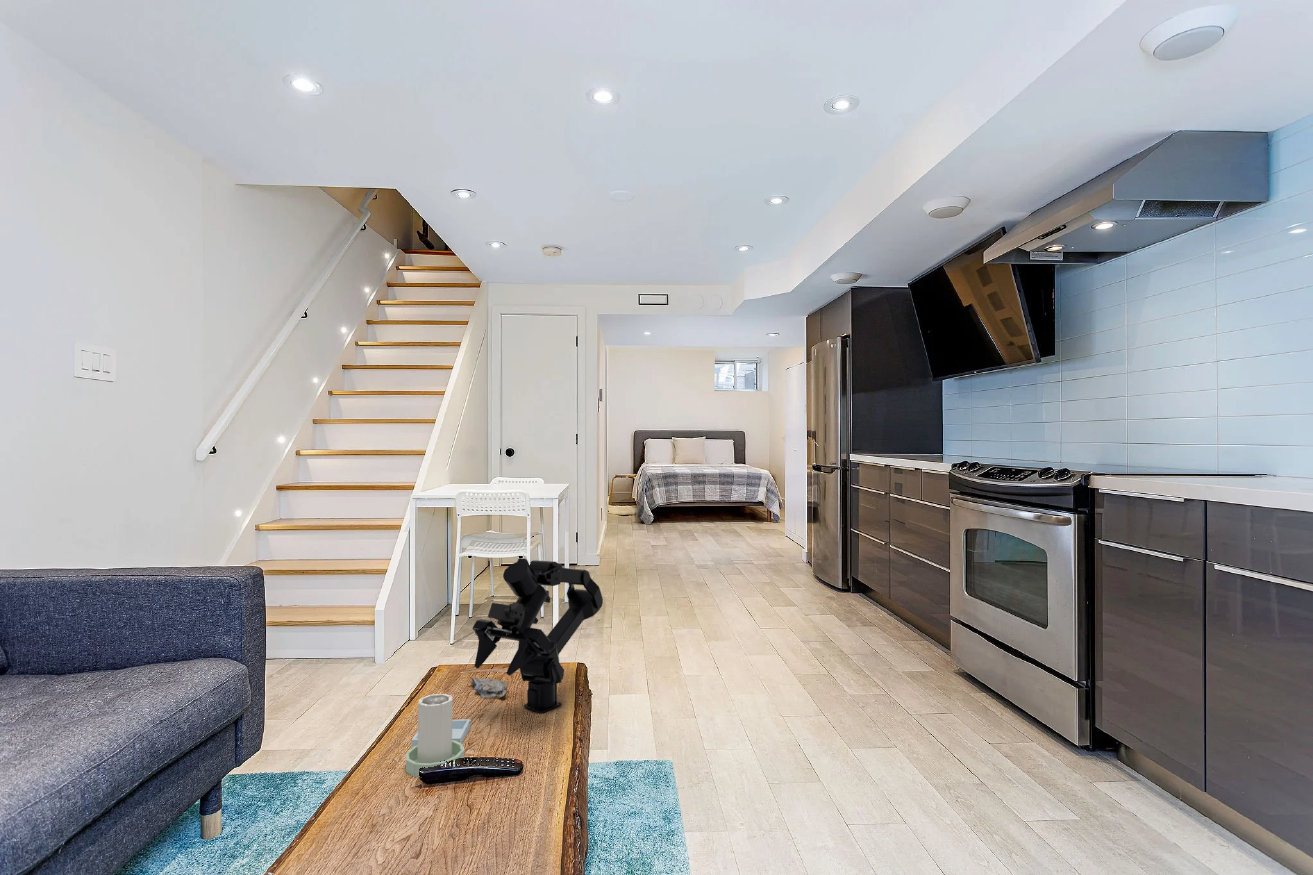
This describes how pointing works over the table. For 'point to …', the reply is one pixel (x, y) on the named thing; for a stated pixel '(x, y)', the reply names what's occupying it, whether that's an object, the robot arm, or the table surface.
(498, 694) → the mineral specimen
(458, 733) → the parts tray
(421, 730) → the pebble cup
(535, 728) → the table surface
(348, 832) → the table surface
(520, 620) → the robot arm
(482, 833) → the table surface
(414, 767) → the bowl
